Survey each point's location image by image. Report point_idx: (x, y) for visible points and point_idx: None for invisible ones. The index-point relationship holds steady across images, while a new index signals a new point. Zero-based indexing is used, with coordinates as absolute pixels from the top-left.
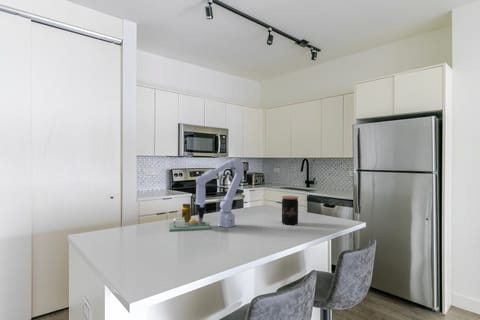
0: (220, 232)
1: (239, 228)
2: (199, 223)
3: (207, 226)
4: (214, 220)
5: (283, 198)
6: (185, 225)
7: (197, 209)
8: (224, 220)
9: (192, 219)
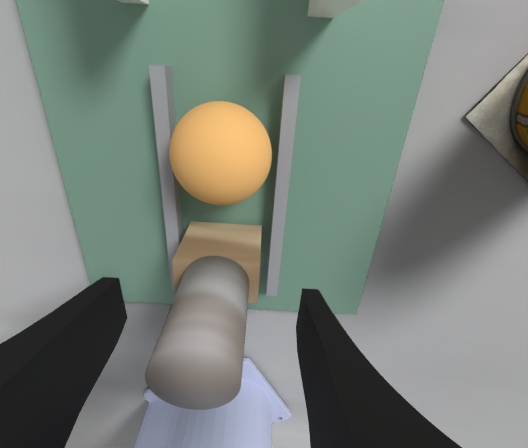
0: (3, 334)
1: (125, 438)
2: (186, 232)
3: (134, 285)
4: (434, 368)
5: None
6: (226, 30)
7: (328, 373)
8: (165, 441)
9: (186, 163)
